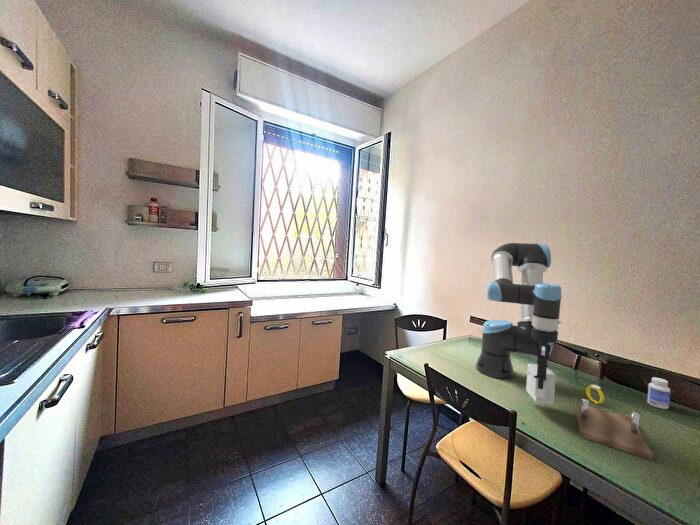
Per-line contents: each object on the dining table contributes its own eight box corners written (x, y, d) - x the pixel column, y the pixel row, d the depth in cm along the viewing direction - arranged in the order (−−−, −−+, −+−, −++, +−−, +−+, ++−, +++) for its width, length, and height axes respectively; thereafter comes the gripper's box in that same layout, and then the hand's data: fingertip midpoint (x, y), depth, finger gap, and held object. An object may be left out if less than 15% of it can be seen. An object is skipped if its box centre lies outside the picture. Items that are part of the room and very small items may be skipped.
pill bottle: (672, 411, 98) (675, 384, 97) (653, 407, 100) (655, 381, 99) (661, 402, 103) (664, 377, 102) (643, 399, 105) (645, 375, 104)
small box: (554, 405, 92) (556, 375, 91) (535, 402, 93) (537, 373, 93) (542, 392, 100) (544, 364, 99) (525, 390, 101) (527, 363, 100)
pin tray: (580, 436, 82) (582, 412, 82) (574, 406, 99) (575, 385, 98) (652, 460, 74) (655, 433, 73) (632, 422, 90) (634, 400, 90)
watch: (605, 406, 100) (607, 391, 99) (597, 406, 99) (600, 391, 99) (590, 396, 105) (592, 382, 105) (583, 396, 105) (585, 382, 105)
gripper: (559, 339, 84) (553, 409, 85) (556, 323, 102) (552, 381, 103) (530, 334, 88) (525, 400, 90) (532, 319, 106) (528, 375, 108)
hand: (539, 390), depth 97 cm, fingers closed on small box, 9 cm apart
